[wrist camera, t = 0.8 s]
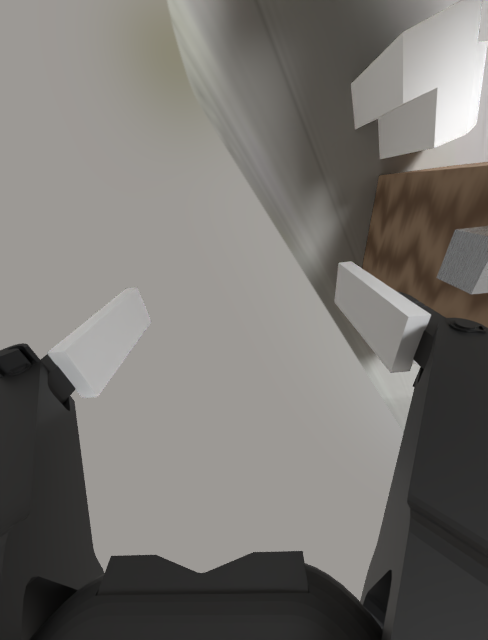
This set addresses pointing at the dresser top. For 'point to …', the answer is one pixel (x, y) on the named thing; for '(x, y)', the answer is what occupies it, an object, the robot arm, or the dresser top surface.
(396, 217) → the walnut shelf
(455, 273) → the steel bar
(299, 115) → the dresser top surface
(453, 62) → the corner bracket
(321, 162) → the dresser top surface
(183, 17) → the dresser top surface
